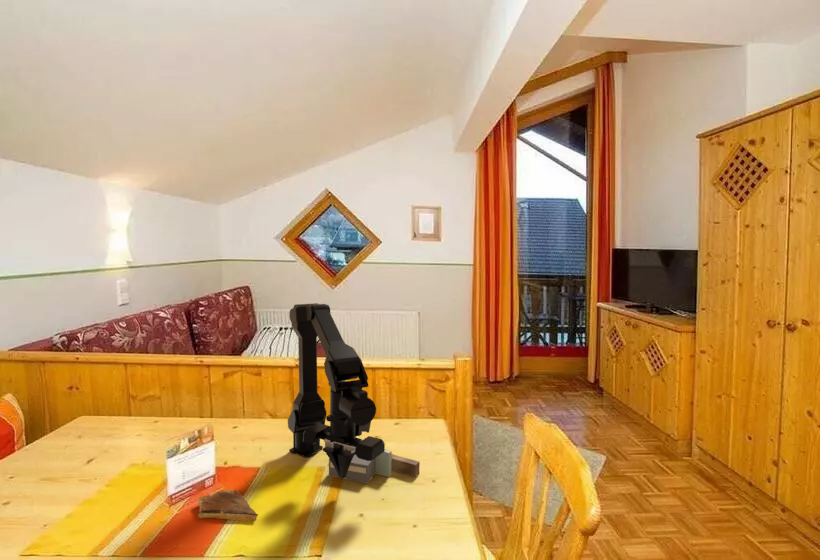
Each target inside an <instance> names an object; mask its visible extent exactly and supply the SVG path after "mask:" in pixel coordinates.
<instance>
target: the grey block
mask: <svg viewBox="0 0 820 560" xmlns="http://www.w3.org/2000/svg"><path fill="white" fill-rule="evenodd" d="M375 463H376V458H375V459H373V460H372V461H366V460H363V459H359V458H358V457H357V456H356V454H355V455H354V457H353V459H352V461H351V463H350V466H349V469H348V471H347V474H346V477H345V478H344V479H343V480H349V481H352V482H353V481H354V482H359V483H364V484H368V483H369V482H370V480H371V479H372V478H373V477H374V475H375V474H376V473H375ZM328 477H334V478H336V479H337V478H339V479H341V478H340V477H339V475H338V473H337V471H336V469H335V467H334V465H333V464H332V462H331V460H330V459H329V458H328Z"/></svg>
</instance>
